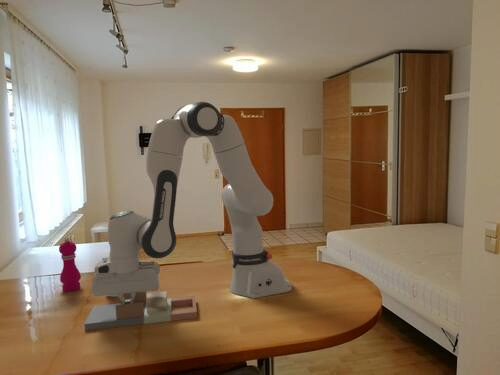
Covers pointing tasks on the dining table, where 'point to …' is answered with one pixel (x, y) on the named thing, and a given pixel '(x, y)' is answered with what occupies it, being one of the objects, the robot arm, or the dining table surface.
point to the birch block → (156, 301)
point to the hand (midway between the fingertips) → (127, 305)
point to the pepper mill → (69, 267)
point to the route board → (138, 312)
